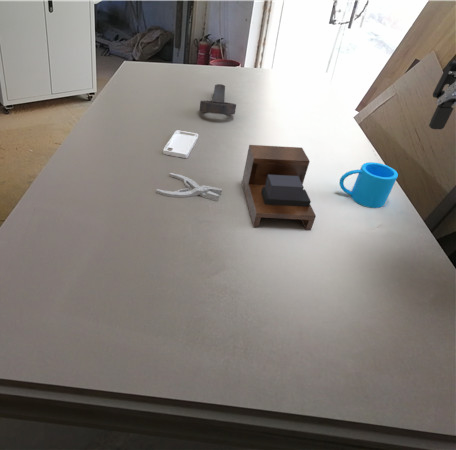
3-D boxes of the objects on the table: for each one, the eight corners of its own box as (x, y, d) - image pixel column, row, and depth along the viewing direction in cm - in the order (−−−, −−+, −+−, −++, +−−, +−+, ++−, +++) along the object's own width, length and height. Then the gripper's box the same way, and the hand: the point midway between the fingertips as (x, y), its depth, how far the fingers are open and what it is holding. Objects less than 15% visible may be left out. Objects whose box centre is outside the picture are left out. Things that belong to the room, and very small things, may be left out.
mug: (381, 193, 105) (394, 165, 100) (387, 210, 98) (401, 181, 93) (333, 185, 107) (343, 157, 102) (336, 201, 101) (347, 173, 96)
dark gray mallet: (202, 104, 162) (198, 111, 135) (204, 82, 159) (201, 85, 131) (232, 107, 161) (235, 115, 133) (235, 85, 158) (239, 88, 130)
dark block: (303, 194, 95) (309, 176, 92) (309, 206, 91) (315, 188, 88) (261, 192, 95) (265, 173, 92) (264, 204, 91) (269, 185, 88)
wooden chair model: (291, 185, 106) (302, 147, 99) (310, 230, 91) (325, 188, 84) (241, 183, 106) (249, 144, 99) (253, 227, 91) (263, 185, 84)
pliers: (170, 169, 107) (225, 182, 102) (170, 174, 108) (224, 188, 103) (156, 187, 99) (215, 202, 95) (156, 192, 100) (214, 208, 96)
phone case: (186, 158, 115) (198, 137, 127) (187, 154, 114) (199, 133, 126) (162, 154, 117) (176, 133, 128) (162, 149, 116) (176, 129, 127)
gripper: (575, 44, 49) (501, 161, 59) (500, 20, 61) (448, 122, 71) (514, 41, 49) (450, 159, 59) (450, 18, 61) (405, 120, 71)
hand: (449, 139), depth 65 cm, fingers open, 8 cm apart
